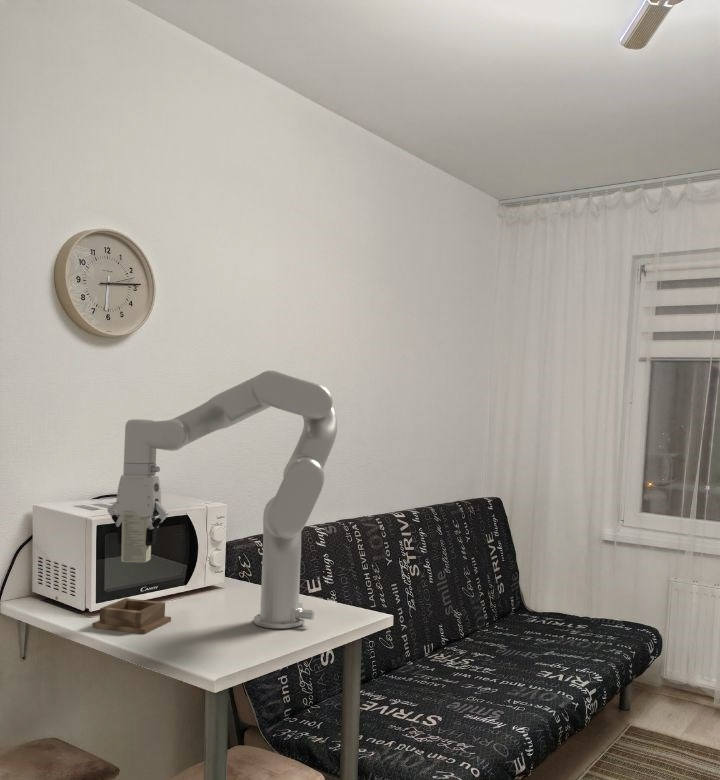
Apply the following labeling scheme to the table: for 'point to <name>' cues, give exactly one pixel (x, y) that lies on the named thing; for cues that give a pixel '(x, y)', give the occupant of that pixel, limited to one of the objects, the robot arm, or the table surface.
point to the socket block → (132, 616)
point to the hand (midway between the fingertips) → (136, 543)
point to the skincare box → (134, 538)
